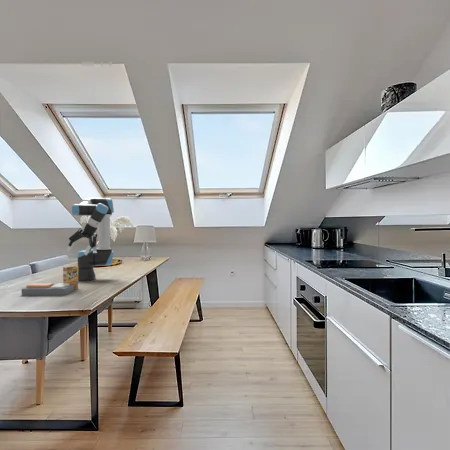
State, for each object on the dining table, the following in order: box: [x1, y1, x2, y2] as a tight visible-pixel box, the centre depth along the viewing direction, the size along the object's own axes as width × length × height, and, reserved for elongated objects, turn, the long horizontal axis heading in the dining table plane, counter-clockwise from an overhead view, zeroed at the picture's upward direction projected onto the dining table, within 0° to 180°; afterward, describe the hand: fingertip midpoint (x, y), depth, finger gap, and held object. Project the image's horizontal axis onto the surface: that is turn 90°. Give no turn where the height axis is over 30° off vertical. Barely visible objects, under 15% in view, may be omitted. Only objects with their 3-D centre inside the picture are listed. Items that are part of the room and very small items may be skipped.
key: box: [26, 282, 55, 288], centre depth 222 cm, size 8×13×2 cm, turn 93°
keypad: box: [21, 282, 74, 296], centre depth 222 cm, size 14×26×5 cm, turn 93°
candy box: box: [62, 265, 79, 290], centre depth 235 cm, size 9×4×15 cm, turn 146°
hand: (76, 252), depth 233 cm, fingers open, 13 cm apart
